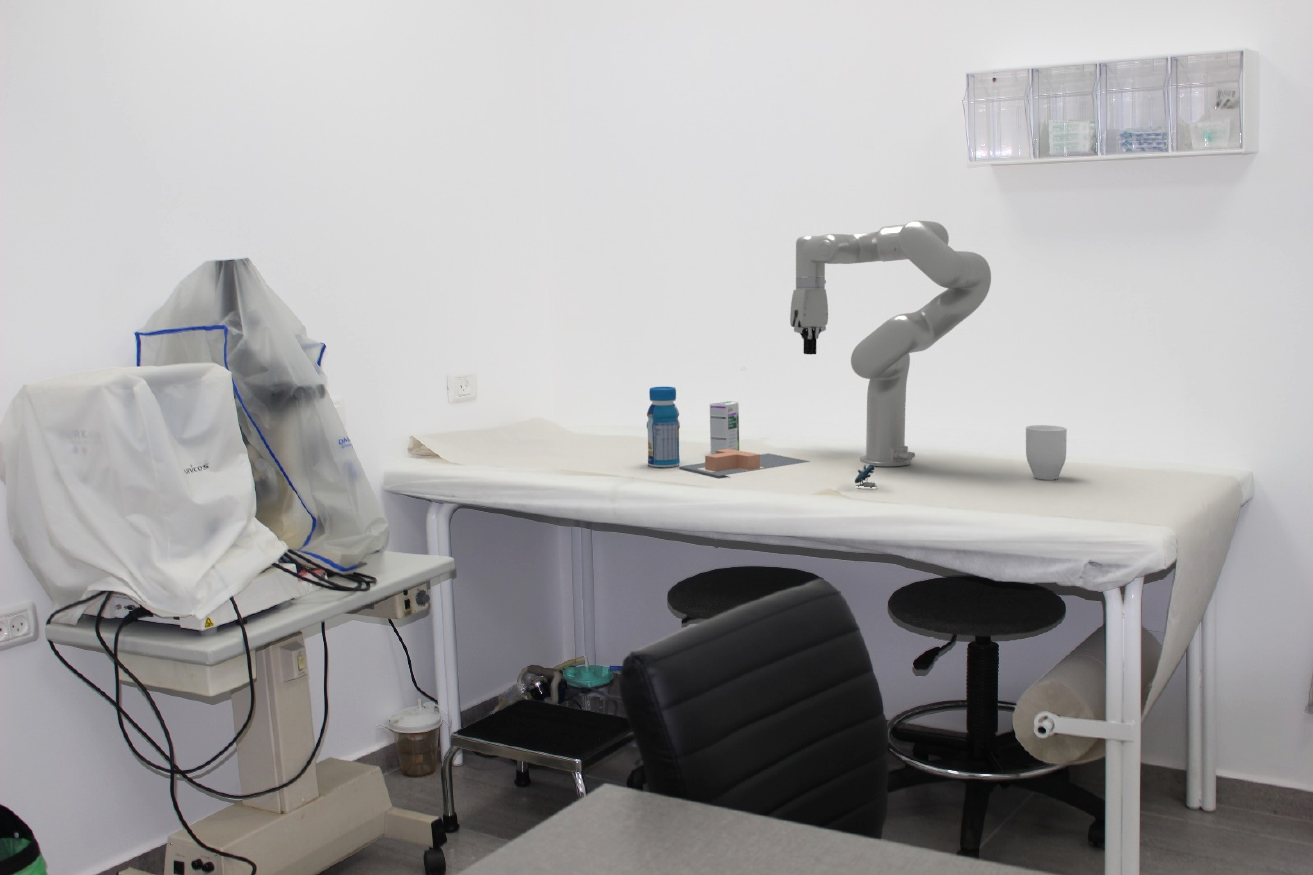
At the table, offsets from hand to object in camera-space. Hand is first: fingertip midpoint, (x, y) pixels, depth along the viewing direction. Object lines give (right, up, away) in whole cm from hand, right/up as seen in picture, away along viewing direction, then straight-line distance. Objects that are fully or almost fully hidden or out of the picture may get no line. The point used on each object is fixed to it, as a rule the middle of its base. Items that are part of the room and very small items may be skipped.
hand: (809, 353), depth 269 cm
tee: (-23, -30, -16) cm, 41 cm away
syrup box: (-22, -27, +4) cm, 36 cm away
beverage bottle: (-39, -30, -9) cm, 50 cm away
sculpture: (+6, -34, -41) cm, 53 cm away
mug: (+50, -32, -31) cm, 67 cm away
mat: (-18, -29, -12) cm, 37 cm away
